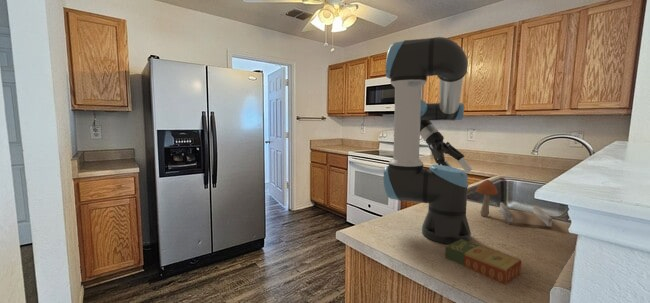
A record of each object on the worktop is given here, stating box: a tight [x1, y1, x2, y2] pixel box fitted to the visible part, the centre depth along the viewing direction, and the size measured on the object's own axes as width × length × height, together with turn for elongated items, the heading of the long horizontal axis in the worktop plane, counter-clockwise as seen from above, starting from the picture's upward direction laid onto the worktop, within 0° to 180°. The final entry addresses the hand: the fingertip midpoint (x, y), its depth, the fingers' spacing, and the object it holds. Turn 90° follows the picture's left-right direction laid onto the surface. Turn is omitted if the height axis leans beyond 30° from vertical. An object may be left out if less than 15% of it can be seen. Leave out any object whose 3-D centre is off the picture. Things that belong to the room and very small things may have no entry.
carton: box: [444, 239, 522, 285], centre depth 75 cm, size 8×16×4 cm, turn 34°
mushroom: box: [475, 179, 499, 217], centre depth 114 cm, size 8×8×15 cm
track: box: [498, 201, 553, 230], centre depth 110 cm, size 13×16×4 cm
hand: (462, 173), depth 121 cm, fingers open, 13 cm apart
